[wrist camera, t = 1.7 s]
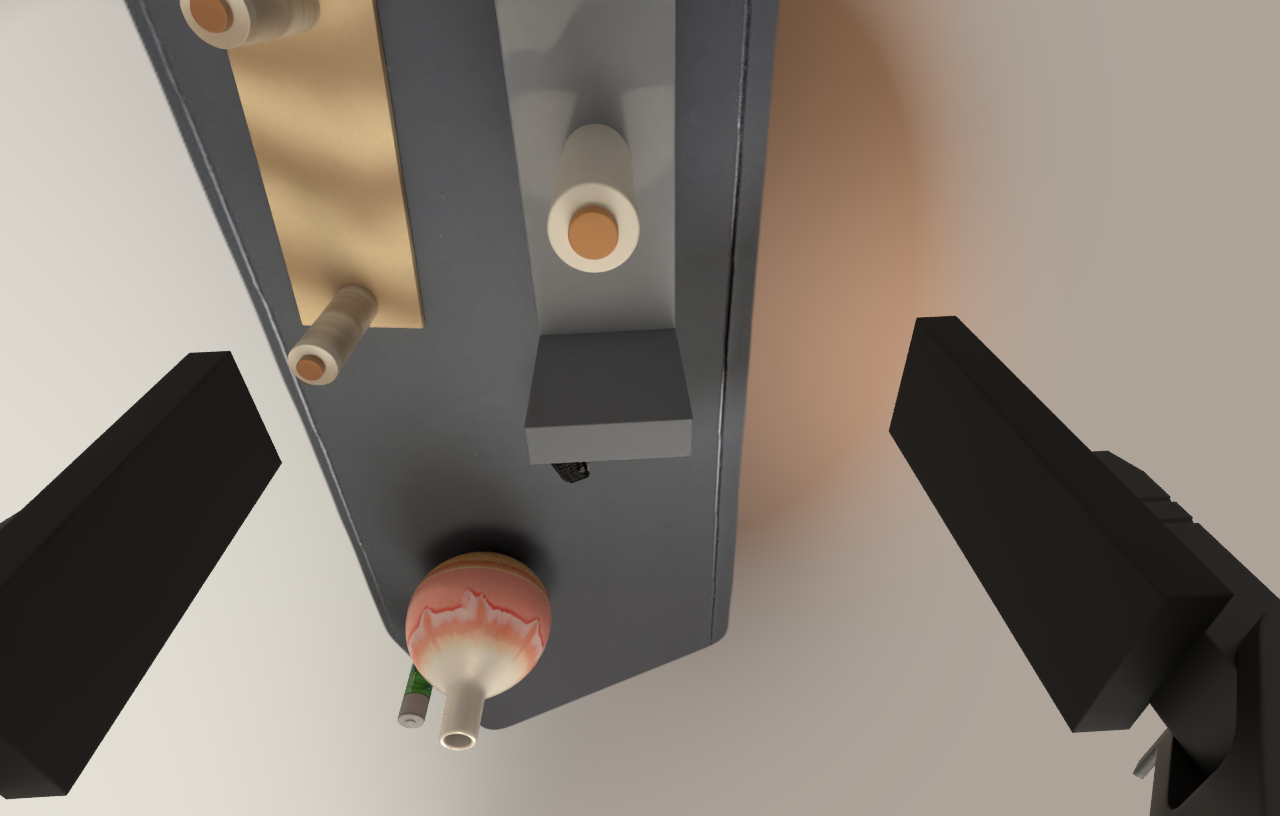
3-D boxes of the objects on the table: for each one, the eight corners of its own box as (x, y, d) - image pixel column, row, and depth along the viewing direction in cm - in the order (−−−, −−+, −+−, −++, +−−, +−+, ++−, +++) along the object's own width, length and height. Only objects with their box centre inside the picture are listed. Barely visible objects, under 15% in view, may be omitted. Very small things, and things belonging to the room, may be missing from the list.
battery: (413, 643, 72) (391, 724, 65) (427, 632, 71) (406, 714, 64) (433, 652, 74) (414, 733, 66) (447, 642, 73) (429, 723, 65)
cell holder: (207, -46, 36) (83, -49, 27) (371, -35, 36) (300, -34, 28) (306, 320, 49) (243, 395, 40) (425, 324, 50) (388, 398, 41)
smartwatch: (587, 410, 55) (586, 446, 51) (590, 456, 58) (589, 493, 54) (539, 412, 55) (534, 448, 51) (545, 458, 58) (541, 495, 54)
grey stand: (521, -110, 35) (416, -207, 15) (649, -115, 35) (707, -217, 15) (560, 255, 47) (530, 465, 27) (655, 251, 47) (692, 456, 27)
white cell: (578, 109, 27) (568, 170, 19) (642, 143, 28) (657, 215, 20) (550, 175, 28) (530, 257, 20) (612, 205, 29) (615, 295, 21)
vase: (566, 606, 70) (556, 772, 55) (444, 620, 70) (404, 790, 56) (539, 517, 62) (520, 685, 48) (402, 535, 63) (342, 706, 48)
